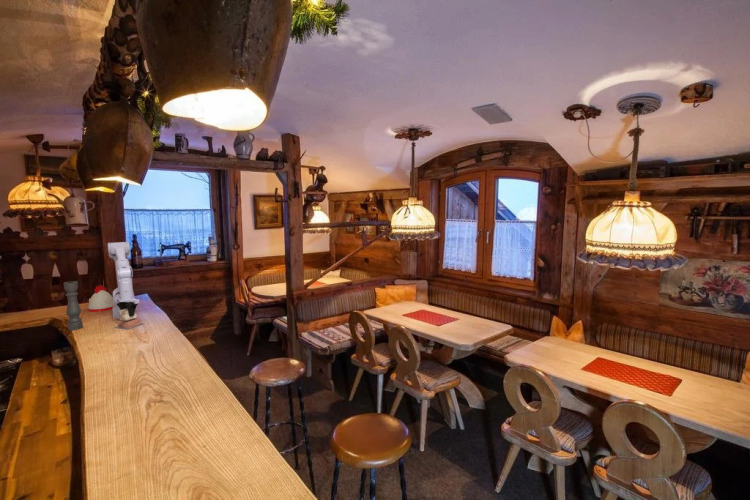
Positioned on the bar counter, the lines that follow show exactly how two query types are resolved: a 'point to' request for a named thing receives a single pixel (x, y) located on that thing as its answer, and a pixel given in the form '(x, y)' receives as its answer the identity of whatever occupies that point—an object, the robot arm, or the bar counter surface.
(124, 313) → the ash brick
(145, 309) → the bar counter surface
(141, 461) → the bar counter surface
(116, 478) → the bar counter surface
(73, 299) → the candle holder
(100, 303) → the white and red dome
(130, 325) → the terracotta brick
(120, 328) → the base plate
